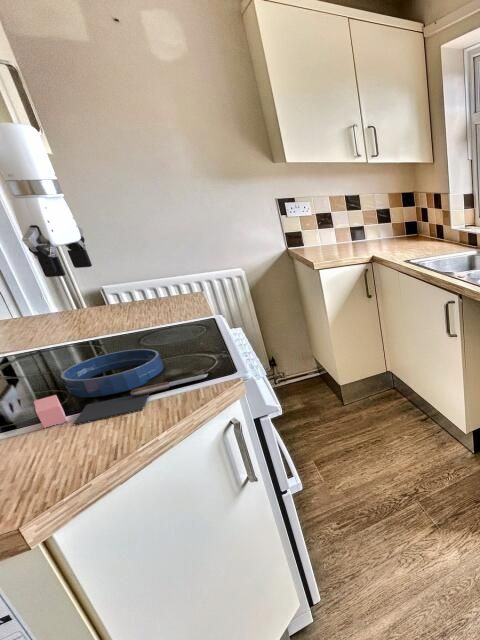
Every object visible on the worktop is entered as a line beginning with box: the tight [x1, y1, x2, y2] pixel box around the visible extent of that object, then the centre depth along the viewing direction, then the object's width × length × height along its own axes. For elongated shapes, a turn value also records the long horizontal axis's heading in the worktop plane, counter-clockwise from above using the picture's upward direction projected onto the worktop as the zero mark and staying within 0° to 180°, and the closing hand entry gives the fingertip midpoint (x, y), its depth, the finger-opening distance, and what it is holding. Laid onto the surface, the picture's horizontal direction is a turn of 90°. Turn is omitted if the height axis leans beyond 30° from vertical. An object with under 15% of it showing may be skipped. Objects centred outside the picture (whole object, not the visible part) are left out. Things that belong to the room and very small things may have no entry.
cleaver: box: [129, 373, 209, 396], centre depth 91 cm, size 13×2×5 cm
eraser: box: [33, 394, 68, 429], centre depth 79 cm, size 3×6×4 cm, turn 49°
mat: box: [72, 393, 151, 426], centre depth 83 cm, size 10×8×1 cm
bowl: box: [60, 348, 165, 398], centre depth 93 cm, size 16×16×4 cm
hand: (70, 271), depth 93 cm, fingers open, 9 cm apart
